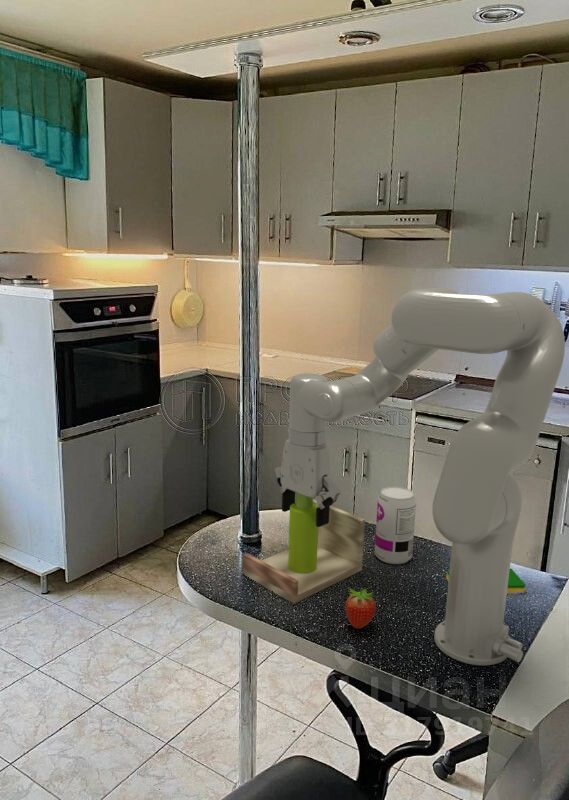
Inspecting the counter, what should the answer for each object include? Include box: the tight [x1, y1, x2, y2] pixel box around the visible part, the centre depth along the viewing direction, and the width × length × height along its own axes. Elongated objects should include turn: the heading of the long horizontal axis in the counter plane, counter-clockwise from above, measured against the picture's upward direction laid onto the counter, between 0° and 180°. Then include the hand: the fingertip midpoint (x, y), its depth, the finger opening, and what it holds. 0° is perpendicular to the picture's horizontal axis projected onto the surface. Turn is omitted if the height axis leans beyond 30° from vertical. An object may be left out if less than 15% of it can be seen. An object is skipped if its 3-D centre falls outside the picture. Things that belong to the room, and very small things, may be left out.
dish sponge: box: [445, 568, 526, 593], centre depth 133 cm, size 7×14×2 cm, turn 95°
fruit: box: [344, 587, 377, 630], centre depth 117 cm, size 5×5×8 cm
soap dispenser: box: [288, 492, 318, 573], centre depth 134 cm, size 6×7×20 cm
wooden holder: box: [242, 499, 366, 605], centre depth 136 cm, size 15×20×12 cm
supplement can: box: [374, 486, 417, 565], centre depth 143 cm, size 8×8×15 cm
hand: (304, 517), depth 134 cm, fingers open, 9 cm apart
